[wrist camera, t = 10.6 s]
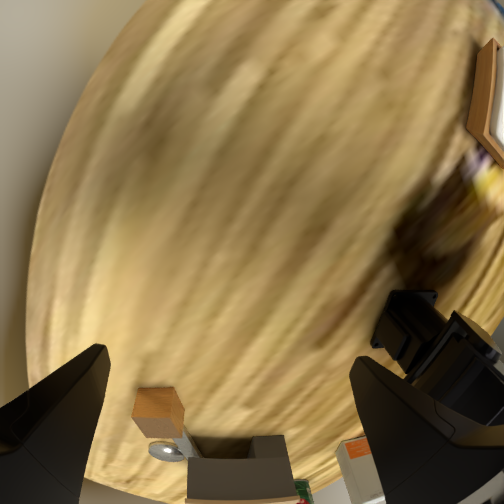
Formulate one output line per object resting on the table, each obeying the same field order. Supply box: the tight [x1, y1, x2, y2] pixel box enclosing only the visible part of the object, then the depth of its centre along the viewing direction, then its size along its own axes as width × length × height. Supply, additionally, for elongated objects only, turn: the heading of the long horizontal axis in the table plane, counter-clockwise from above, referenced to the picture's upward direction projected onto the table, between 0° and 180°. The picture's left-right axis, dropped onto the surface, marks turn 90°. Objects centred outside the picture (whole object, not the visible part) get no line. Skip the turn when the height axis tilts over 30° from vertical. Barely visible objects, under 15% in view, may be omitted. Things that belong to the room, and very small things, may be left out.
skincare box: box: [335, 436, 385, 504], centre depth 28 cm, size 6×4×12 cm
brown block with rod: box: [131, 387, 203, 460], centre depth 26 cm, size 4×17×4 cm, turn 6°
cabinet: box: [185, 435, 300, 504], centre depth 26 cm, size 12×11×10 cm
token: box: [149, 442, 184, 462], centre depth 29 cm, size 5×5×1 cm
